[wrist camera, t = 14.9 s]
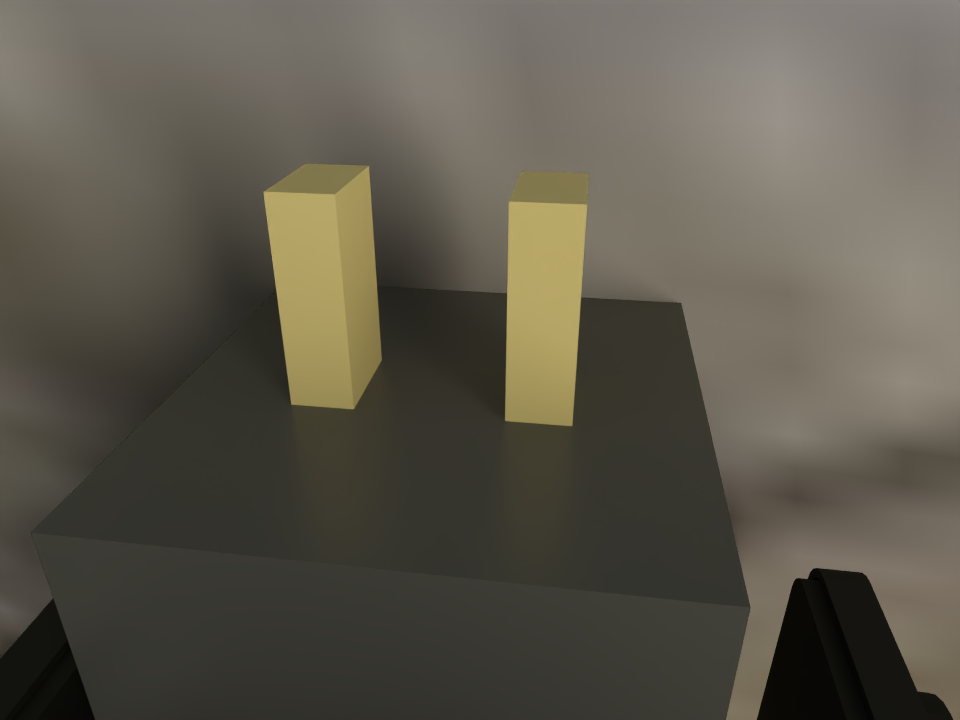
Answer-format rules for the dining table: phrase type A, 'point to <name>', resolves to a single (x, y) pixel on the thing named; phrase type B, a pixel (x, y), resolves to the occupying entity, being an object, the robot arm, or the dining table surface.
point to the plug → (412, 499)
